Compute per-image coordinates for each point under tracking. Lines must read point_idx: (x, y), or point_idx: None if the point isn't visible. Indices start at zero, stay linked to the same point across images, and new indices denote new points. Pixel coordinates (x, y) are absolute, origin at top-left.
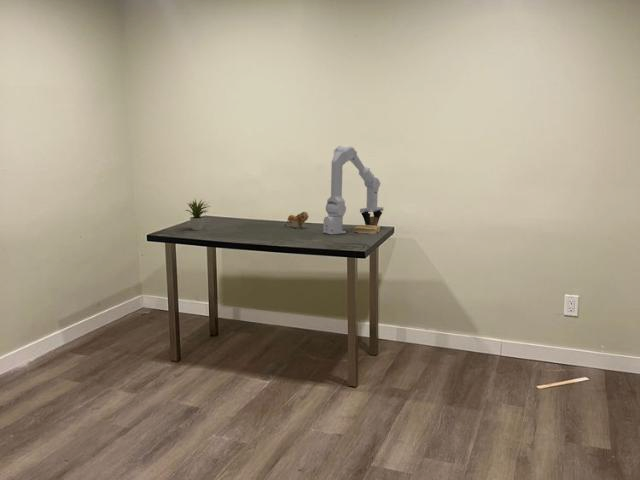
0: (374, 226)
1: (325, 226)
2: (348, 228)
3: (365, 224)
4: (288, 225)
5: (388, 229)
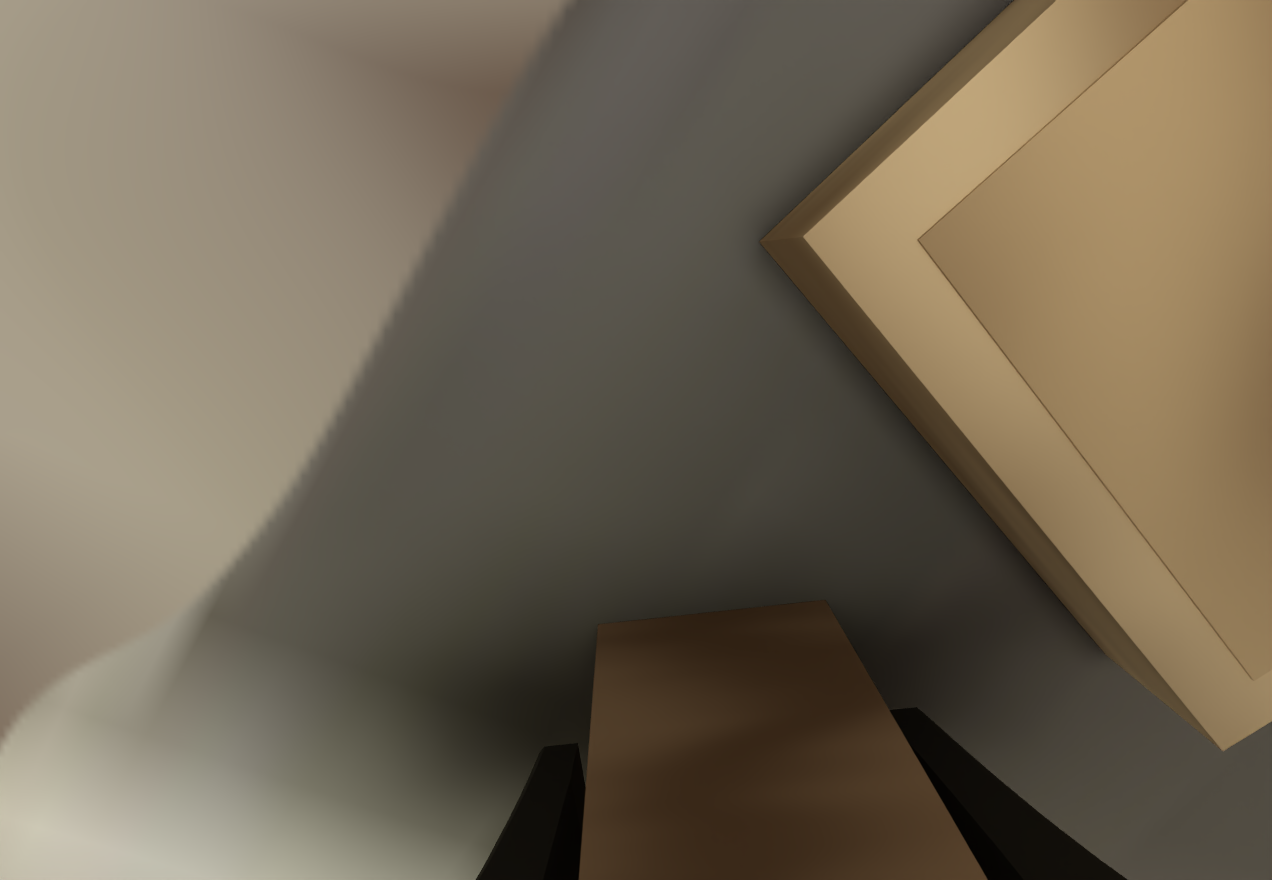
0: (1125, 205)
1: None
2: (1212, 854)
3: None
4: None
5: (388, 342)
